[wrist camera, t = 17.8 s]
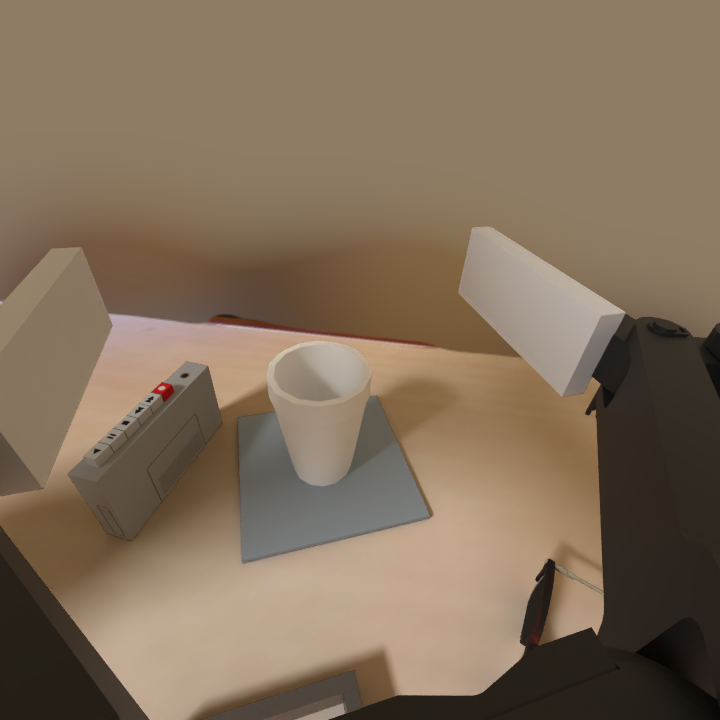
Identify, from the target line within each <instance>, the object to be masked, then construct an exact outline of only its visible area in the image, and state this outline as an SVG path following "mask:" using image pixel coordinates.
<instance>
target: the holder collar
mask: <svg viewBox="0 0 720 720" xmlns="http://www.w3.org/2000/svg"><path fill="white" fill-rule="evenodd" d="M341 703H343V704H344V709H345V714H346V713H349V712H352V711H355V710H358V709H360V708H362V703H361V699H360V694H359V689H358V684H357V679H356V674H355V670H353V671H350V672H347V673H344V674H340V675H337V676H334V677H331V678H328V679H325V680H322V681H319V682H316V683H313V684H309V685H306V686H303V687H300V688H297V689H294V690H291V691H288V692H285V693H282V694H279V695H275V696H272V697H269V698H266V699H263V700H260V701H257V702H254V703H251V704H248V705H244V706H241V707H238V708H235V709H232V710H229V711H226V712H223V713H220V714H217V715H213V716H210V717H207V718H204V719H201V720H294V719H297V718H300V717H303V716H306V715H309V714H312V713H315V712H318V711H321V710H324V709H327V708H330V707H333V706H336V705H338V704H341Z"/></svg>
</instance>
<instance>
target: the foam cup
mask: <svg viewBox="0 0 720 720" xmlns="http://www.w3.org/2000/svg"><path fill="white" fill-rule="evenodd" d="M266 380H267V387H268V394H269V399H270V401H271V403H272V404H273V406H274V408H275V411H276V414H277V417H278V420H279V424H280V427H281V430H282V433H283V436H284V439H285V442H286V445H287V448H288V451H289V455H290V458H291V461H292V464H293V466H294V469H295V471H296V473H297V475H298V476H299V478H300V479H302V480H303V481H305V482H306V483H308V484H310V485H316V486H327V485H331V484H335V483H337V482H338V481H340V480H341V479H342V478H343V477H345V476H346V475H347V472H348V470H349V468H350V466H351V463H352V459H353V455H354V451H355V447H356V443H357V439H358V434H359V430H360V426H361V422H362V418H363V414H364V410H365V405H366V402H367V400H368V398H369V397H370V389H371V371H370V365H369V362H368V361H367V360H366V359H365V357H364V356H363V355H362V354H361V353H360V352H359V351H358V350H355V349H353V348H351V347H348V346H346V345H343V344H341V343H335V342H326V341H315V342H308V343H301V344H297V345H295V346H293V347H290V348H288V349H286V350H284V351H282V352H280V353H279V354H278V355H277V356H276V357H275V358H274V359H273V360H272V362H271V363H270V364H269V366H268V372H267V379H266Z"/></svg>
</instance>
